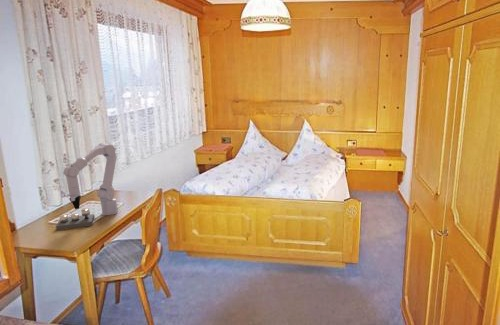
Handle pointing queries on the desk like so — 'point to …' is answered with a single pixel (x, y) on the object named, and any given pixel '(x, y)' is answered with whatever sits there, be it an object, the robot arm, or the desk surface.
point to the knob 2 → (85, 212)
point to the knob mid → (75, 217)
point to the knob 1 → (64, 218)
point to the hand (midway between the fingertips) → (77, 208)
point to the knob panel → (76, 222)
